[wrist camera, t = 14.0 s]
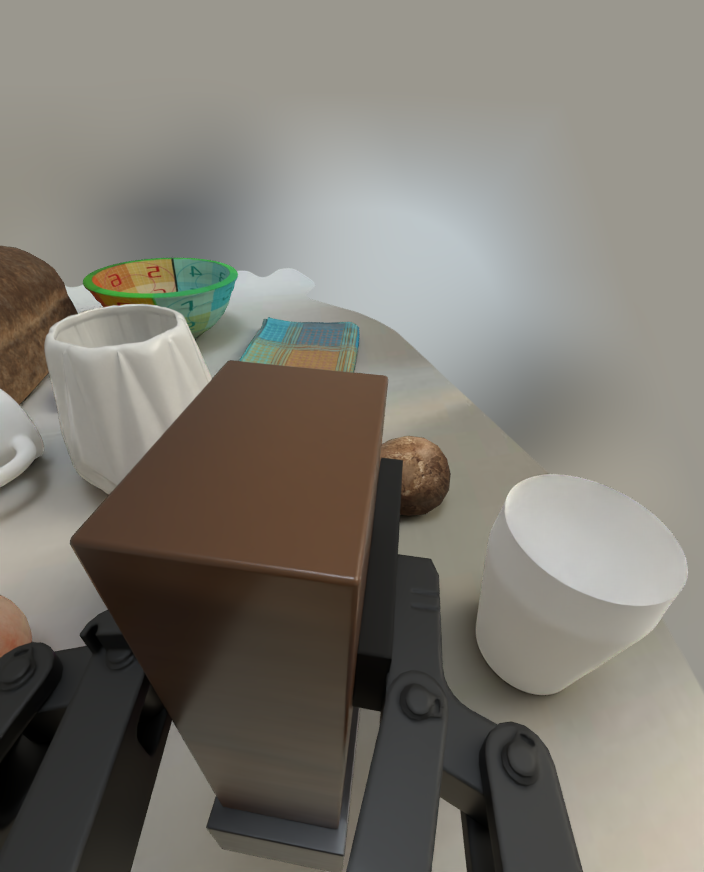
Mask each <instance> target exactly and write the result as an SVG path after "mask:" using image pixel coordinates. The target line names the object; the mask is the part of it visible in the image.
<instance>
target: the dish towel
mask: <svg viewBox="0 0 704 872" xmlns="http://www.w3.org/2000/svg"><path fill="white" fill-rule="evenodd" d="M358 346H359V327H358V326H357V325H356V324H354V323H352V322H336V323H323V322H322V323H320V322H303V323H301V322H290V321H283V320H278V319H273V318H270V317H269V318H268V320H267V319H264V321H263V324H262V327H261V329H260V330H259V331H258V333H257V335H256V336H255V337H254V338H253V340H252V341H251V343H250V344H249V346H248V348H247V349H246V351H245V353H244V354H243V356H242V357H241V359H240V361H243V362H253V363H263V364H273V365H283V366H293V367H303V368H313V369H323V370H333V371H343V372H353V373H354V368H355V361H356V356H357V350H358Z"/></svg>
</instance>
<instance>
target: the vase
mask: <svg viewBox="0 0 704 872" xmlns="http://www.w3.org/2000/svg"><path fill="white" fill-rule="evenodd" d="M44 349H45V357H46V362H47V367H48V371H49V375H50V380H51V384H52V388H53V392H54V396H55V401H56V405H57V411H58V417H59V422H60V427H61V432H62V436H63V439H64V442H65V444H66V447H67V450H68V453H69V455H70V458H71V461H72V464H73V466H74V467H75V469H76V471H77V473H78V474H79V475H80V476H81V477H82V478H83V479H85V480H86V481H87V482H89V483H90V484H92V485H94V486H95V487H97V488H100V489H102V490H103V491H104V492H105V493H107V494H110V493H111V492H112V491H113V490H114V489H115V488H116V486H117V485H118V484H119V483H120V482H121V481H122V480H123V479H124V477H125V476H126V475H127V474H128V473H129V472H130V471H131V470H132V468H133V467H134V466H135V465H136V464H137V463H138V462H139V461H140V459H141V458H142V457H143V456H144V455H145V454H146V453H147V452H148V450H149V449H150V448H151V447H152V446H153V445H154V444H155V443H156V441H157V440H158V439H159V438H160V437H161V436H162V435H163V434H164V432H165V431H166V430H167V429H168V428H169V427H170V426H171V425H172V423H173V422H174V421H175V420H176V419H177V418H178V417H179V416H180V414H181V413H182V412H183V411H184V410H185V409H186V408H187V406H188V405H189V404H190V403H191V402H192V401H193V400H194V399H195V397H196V396H197V395H198V394H199V393H200V392H201V391H202V390H203V388H204V387H205V386H206V385H207V384H208V383H209V382H210V381H211V379H212V377H211V374H210V372H209V370H208V368H207V365H206V363H205V361H204V359H203V357H202V354H201V352H200V350H199V348H198V346H197V344H196V341H195V339H194V337H193V335H192V333H191V331H190V329H189V326H188V324H187V322H186V320H185V318H184V316H183V315H182V314H181V313H179V312H177V311H175V310H172V309H169V308H166V307H160V306H156V305H148V304H125V305H121V306H116V305H113V306H108V307H102V308H97V309H91V310H87V311H83V312H80V313H79V314H76V315H71V316H68V317H67V318H65V319H63V320H61V321H59V322H57V323H56V324H54V325H53V326H52V327H51V328H50V329H49V333H48V334H47V335H46V338H45V345H44Z"/></svg>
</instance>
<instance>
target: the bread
mask: <svg viewBox="0 0 704 872" xmlns="http://www.w3.org/2000/svg"><path fill="white" fill-rule="evenodd" d="M76 314H78V313H77V311H76V309H75V307H74V305H73V303H72V301H71V300H70V298H69V296H68V295H67V291H66V288H65V285H64V282H63V281H62V279H61V278H60V276H59V275H58V274H57V272H56V271H55V269H54V268H53V267H51V266H50V265H49V264H47V263H46V262H45V261H43V260H41V259H39V258H37V257H36V256H34V255H32V254H30V253H28V252H26V251H23V250H21V249H18V248H14V247H6V246H0V389H1V390H3V391H4V392H6V393H7V394H8V395H9V396H11V397H12V398H13V399H14V400H15V401H16V402H17V403H18V404H20V403H21V402H22V401H23V400H24V399H25V398H26V397H27V396H28V395H29V394H30V393H31V392H32V391H33V390H34V388H35V387H36V386H37V385H38V384H39V383H40V382H41V381H42V380H43V378H44V377H45V376H46V375H47V374H48V373H49V371H48V367H47V362H46V357H45V349H44V345H45V338H46V335H47V334H48V333H49V329H50V328H51V327H52V326H53V325H54V324H56V323H57V322H59V321H61V320H63V319H65V318H67V317H68V316H71V315H76Z"/></svg>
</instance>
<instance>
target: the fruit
mask: <svg viewBox="0 0 704 872" xmlns="http://www.w3.org/2000/svg"><path fill="white" fill-rule="evenodd" d="M31 641H32V635H31V630H30V627H29V624H28V621H27V618H26V616H25V615H24V613H23V612H22V611H21V610H20V609H19V608H18V607H17V606H16V605H15V604H14V603H13V602H12V601H11V600H9V599H7V598H5V597H3V596H1V595H0V658H1V657H2V656H3V655H4V654H6V653H8V652H9V651H11V650H13V649H14V648H16V647H18V646H21V645H24V644H28V643H31Z"/></svg>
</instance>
